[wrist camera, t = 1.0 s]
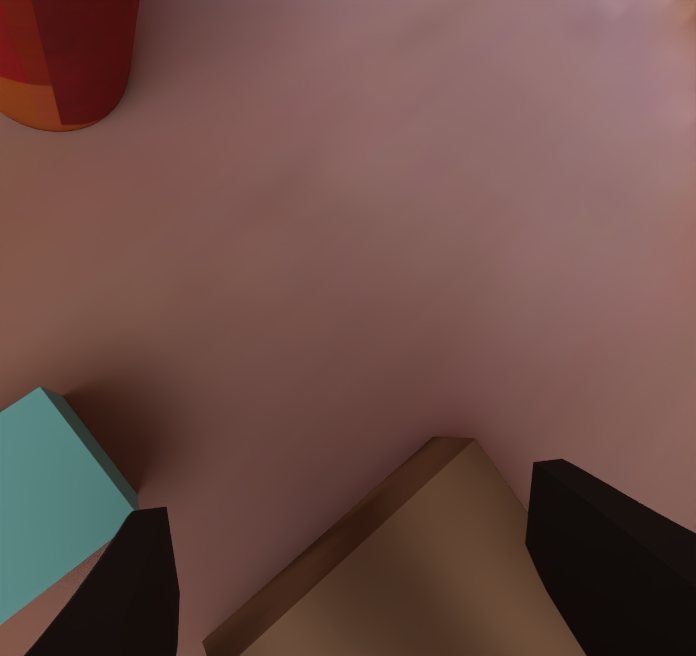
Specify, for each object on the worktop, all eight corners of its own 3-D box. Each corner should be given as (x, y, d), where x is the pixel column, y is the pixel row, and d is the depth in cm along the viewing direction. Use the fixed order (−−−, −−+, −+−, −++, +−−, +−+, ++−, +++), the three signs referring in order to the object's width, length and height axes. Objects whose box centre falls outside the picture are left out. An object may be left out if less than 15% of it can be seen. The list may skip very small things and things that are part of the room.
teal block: (23, 580, 22) (-14, 636, 16) (-59, 475, 21) (-127, 495, 16) (137, 494, 23) (139, 517, 18) (61, 395, 23) (40, 386, 17)
